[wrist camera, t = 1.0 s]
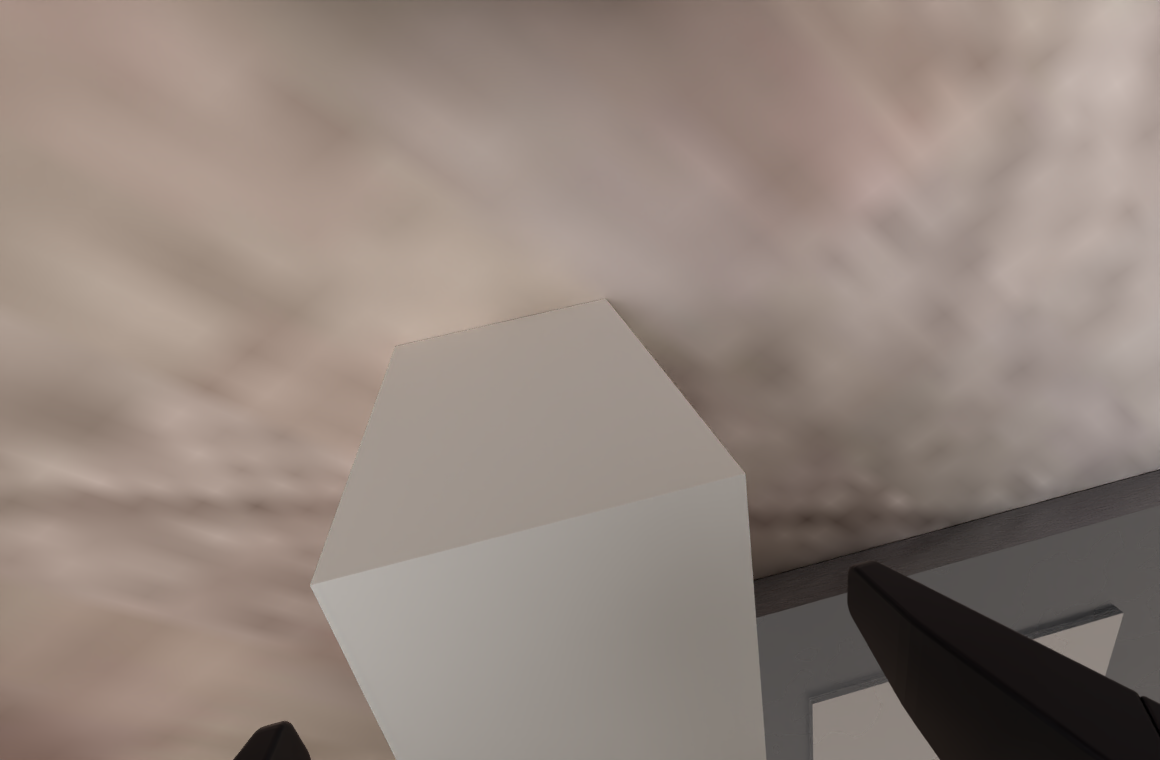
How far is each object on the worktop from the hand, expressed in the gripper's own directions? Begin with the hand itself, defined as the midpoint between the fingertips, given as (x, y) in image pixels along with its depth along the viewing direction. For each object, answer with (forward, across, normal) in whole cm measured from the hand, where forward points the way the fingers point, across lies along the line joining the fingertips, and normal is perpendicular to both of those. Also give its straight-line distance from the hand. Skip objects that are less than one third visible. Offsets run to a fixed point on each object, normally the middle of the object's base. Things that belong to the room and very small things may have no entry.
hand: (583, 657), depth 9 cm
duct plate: (+5, -11, +12) cm, 17 cm away
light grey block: (+5, 0, 0) cm, 5 cm away
